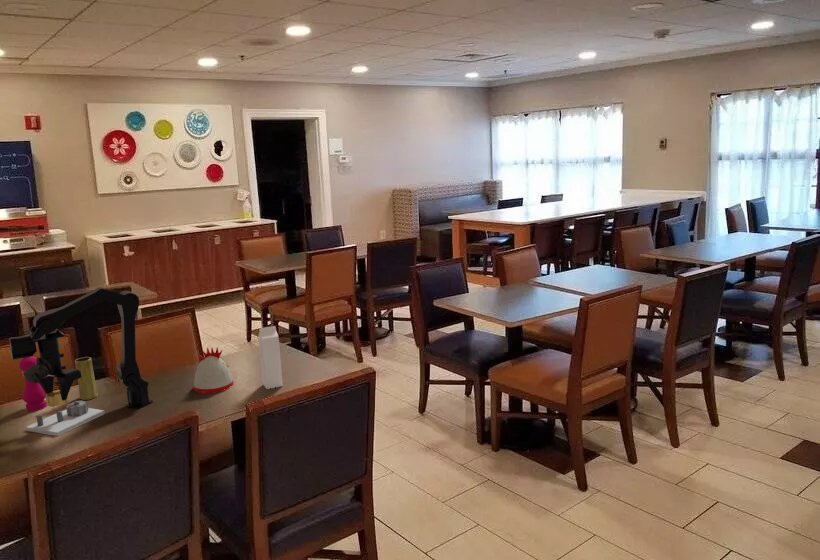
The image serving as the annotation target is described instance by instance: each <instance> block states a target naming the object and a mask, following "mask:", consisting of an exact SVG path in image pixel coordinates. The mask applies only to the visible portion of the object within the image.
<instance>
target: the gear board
mask: <svg viewBox="0 0 820 560" xmlns="http://www.w3.org/2000/svg"><path fill="white" fill-rule="evenodd" d="M87 401H88V400H74V401H73V402H71V403H68V404H67V403H66V406H65V408H66V409H64V410H58V411H56V413H55V414H53V415H50V416H47V417H46V418H43V415H42V414H37V415H36V422H34V423H32V424H29V425H28V426H26V427H25V430H26V431H28V432H32V433H39V434H45V435H49V436H54V437H59V436H61V435H63V434H65V433H67V432H69V431H72V430H74V429H76V428H78V427H80V426H82V425H84V424H86V423H89V422H91V421H92V420H94V419H97V418H99V417H102V416H103V415H105V414H106V412H105V410H104V409H99V408H98V409H97V408H91V407H88V402H87Z"/></svg>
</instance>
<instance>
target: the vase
mask: <svg viewBox="0 0 820 560" xmlns="http://www.w3.org/2000/svg"><path fill="white" fill-rule="evenodd" d="M92 361H93V360H92V357H90V356H84V357H79V358H76V359H75V360H74V364H75V369H78V370H80V371H81V374H82V377H81V378H79V379H77V385H78V392H79V395H78V397H79V400H80V399H81V400H80V401H88V400H93V399H95V398H97V397H98V396H99V392H98V389H97V384H96V378H95V373H94V368H93V367H94V365H93V362H92Z"/></svg>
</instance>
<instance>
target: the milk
mask: <svg viewBox="0 0 820 560" xmlns="http://www.w3.org/2000/svg"><path fill="white" fill-rule="evenodd" d="M258 331H259V332H258V335H257V337H258V348H259V359H260V368H261V369H260V370H261V377H262V378H261V379H262V380H261V381H262V385H263V386H264V388H265V389H266V390H271V389H275V387H276V388H279V387H283V386H284V384H283V373H282V361H281V350H280V338H279V334H278V332H277V327H276V325H273V326H265V327H261V328H259V329H258ZM270 388H271V389H270Z"/></svg>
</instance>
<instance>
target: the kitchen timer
mask: <svg viewBox="0 0 820 560" xmlns="http://www.w3.org/2000/svg"><path fill="white" fill-rule="evenodd" d="M210 349H211V351H210ZM210 349H209V347H207V348H206V351H204V350H202V354H203V356H202V354H199V355H198V356H199V358H200V359H201V361H200V362H199V363H198V365H197V368H196V370H195V374H194V377H193V390H194V392H196V393H198V392H199V393H198V394H214V392H216V393H220V392H219V391H221V390H224V389H227V388H229V387H230V386H232V385H233V386H234V377H233V374H232V372H231V370H230V368H229V367H230V366H229V365H228V364H227V363H226V362H225V361H224V360H223V359H222V358H221V356H222V352H223V349H221V350H220V351H219V347H218V346H216V349H215V350H216V351H214V348H213V347H211V348H210ZM233 386H232V387H233ZM229 389H230V388H229ZM227 390H228V389H227ZM224 391H225V390H224ZM221 392H222V391H221Z"/></svg>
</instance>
